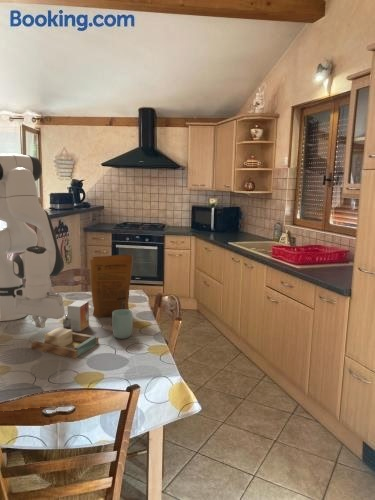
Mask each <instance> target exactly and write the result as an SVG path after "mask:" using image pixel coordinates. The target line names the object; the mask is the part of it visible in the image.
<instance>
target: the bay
mask: <svg viewBox="0 0 375 500" xmlns="http://www.w3.org/2000/svg"><path fill="white" fill-rule="evenodd" d="M72 341H76V342H81V343H79V344H78V345H76V346H75V347H74V348H72V347H67V346H65V347H62V346H57V345H52V344H47V343H44V342H43V341H37V340H32V341H31V342H30V349H31V350H35V351H38V352H39V351H40V352H45V353H48V354H54V355H57V356H63V357H68V358H72V359H76V358H78V357H80V356H81V355H83V354H84V353H87V351H89V350H91V349H92V348H94V346H96V345H98V344H99V336H95V335H90V334H84V333H79V332H76V331H73V332H72Z"/></svg>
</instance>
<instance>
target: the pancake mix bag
mask: <svg viewBox="0 0 375 500" xmlns="http://www.w3.org/2000/svg"><path fill="white" fill-rule="evenodd" d="M133 260H134V255H132V254H113V255H102V256H92V259H91V258H90V259H89V265H88V267H89V283H90V290H91V291H90V292H91V300H92V306H93V311H92V312H93V313H92V316H94V317H97V318H109V317H112V312H113V311H115V310H120V309H127V310H130V309H129V298H130V286H131V281H132V272H133V271H132V270H133V262H134V261H133Z"/></svg>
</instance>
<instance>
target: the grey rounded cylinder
mask: <svg viewBox="0 0 375 500" xmlns="http://www.w3.org/2000/svg"><path fill="white" fill-rule="evenodd" d="M64 316H65V318H64V319H63V320H62V324H63V326H62V328H65V329H70V330H71V319H69V318H68V313H67V314H64ZM72 332H74V331H72Z"/></svg>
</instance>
